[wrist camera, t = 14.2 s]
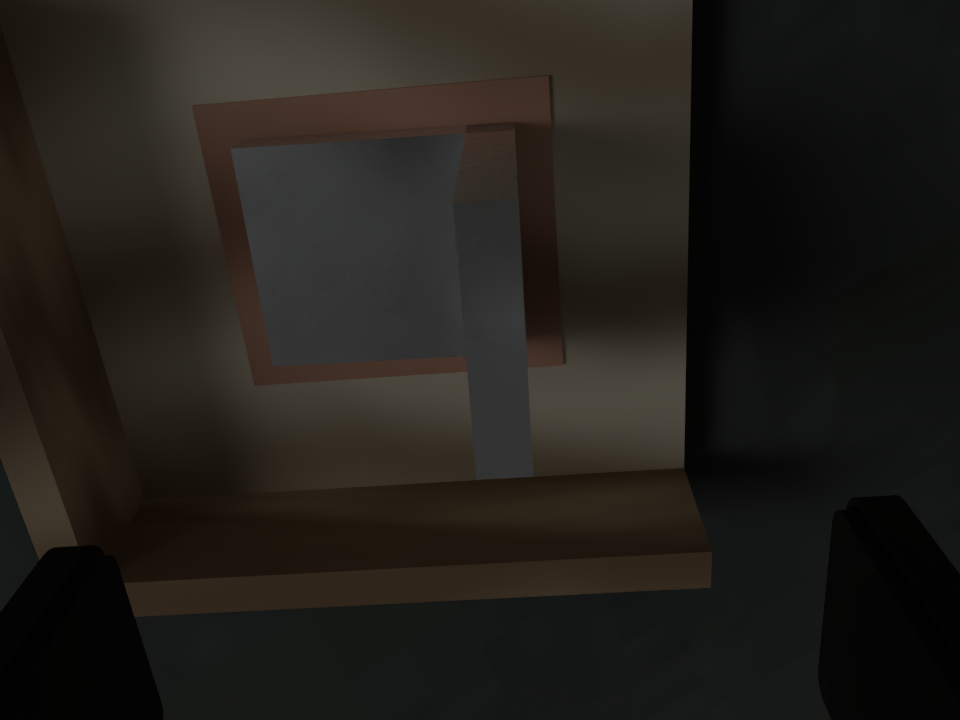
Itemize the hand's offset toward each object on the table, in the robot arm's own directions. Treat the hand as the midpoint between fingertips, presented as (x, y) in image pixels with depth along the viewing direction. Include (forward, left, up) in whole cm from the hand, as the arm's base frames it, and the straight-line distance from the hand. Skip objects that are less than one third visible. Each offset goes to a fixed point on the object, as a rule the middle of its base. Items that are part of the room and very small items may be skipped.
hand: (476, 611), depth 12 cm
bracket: (+1, +3, -14) cm, 14 cm away
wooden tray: (0, +4, -15) cm, 15 cm away
